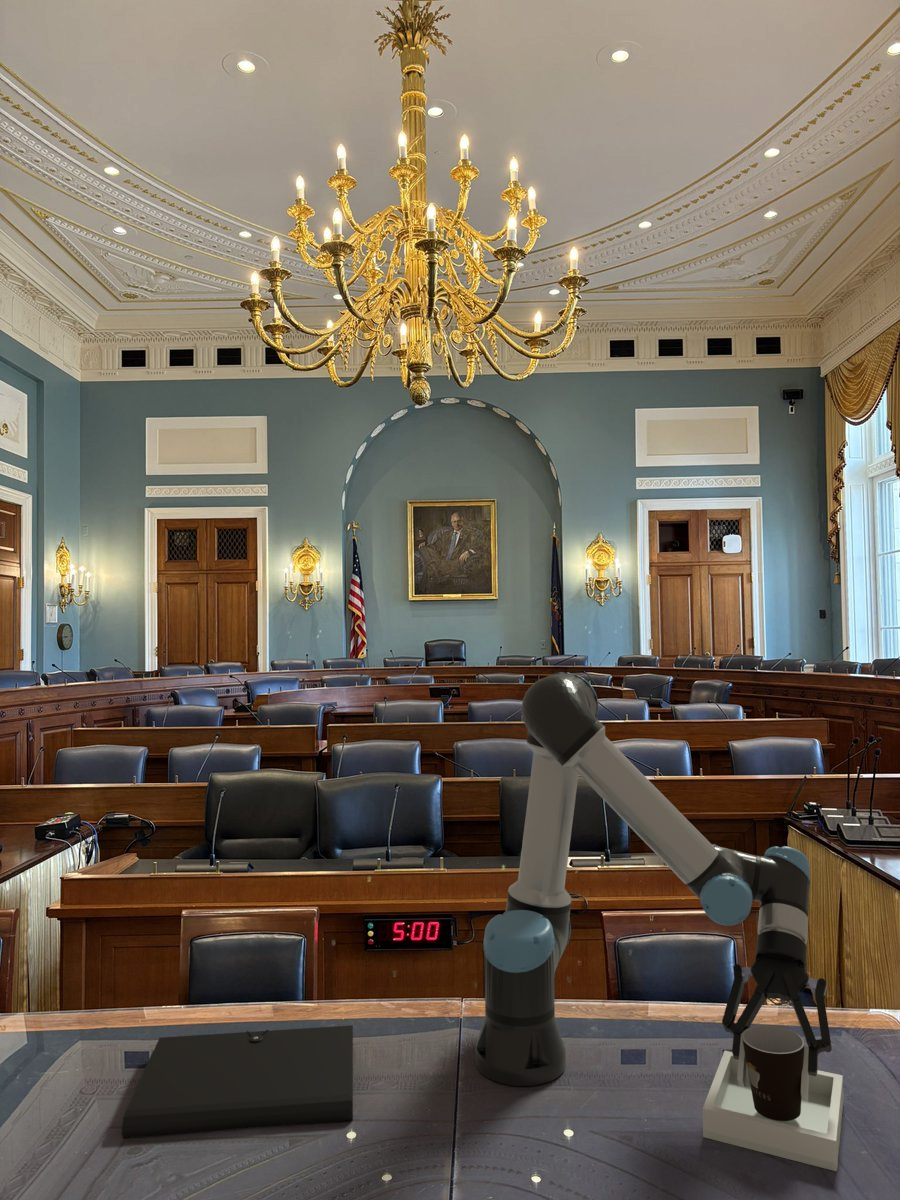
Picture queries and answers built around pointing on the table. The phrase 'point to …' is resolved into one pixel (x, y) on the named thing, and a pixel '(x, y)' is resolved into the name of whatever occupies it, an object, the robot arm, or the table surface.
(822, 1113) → the white storage tray
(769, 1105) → the coffee mug
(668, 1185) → the table surface
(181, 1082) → the file folder
